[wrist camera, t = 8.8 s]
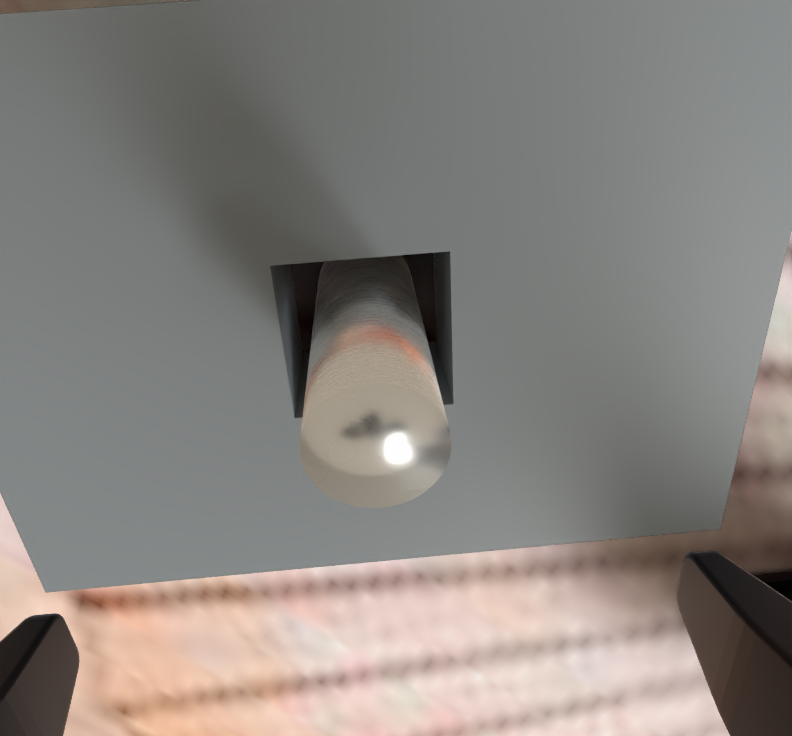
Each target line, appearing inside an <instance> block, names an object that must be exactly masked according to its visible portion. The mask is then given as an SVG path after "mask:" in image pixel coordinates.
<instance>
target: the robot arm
mask: <svg viewBox="0 0 792 736" xmlns="http://www.w3.org/2000/svg"><path fill="white" fill-rule="evenodd" d="M677 601H678V606H679V609H680V612H681V614H682V617H683V620H684V622H685V625H686V628H687V630H688V633H689V636H690V638H691V641H692V644H693V646H694V649H695V651H696V654H697V657H698V659H699V662H700V665H701V667H702V670H703V673H704V675H705V678H706V681H707V683H708V686H709V688H710V691H711V694H712V696H713V699H714V701H715V704H716V706H717V709H718V711H719V713H720V715H721V717H722V720H723V722H724V724H725V726H726V728H727V730H728V732H729V734H730V736H792V572H789V573H778V574H768V575H758V576H753V575H752V574H750V573H749V572H747V571H746V570H744V569H743V568H742V567H740V566H739V565H737V564H736V563H734V562H733V561H731V560H730V559H728V558H727V557H725V556H724V555H722V554H721V553H719V552H716V551H712V550H710V551H699V552H690V553H688V554H687V555H686V556H685V558H684V561H683V566H682V570H681V575H680V580H679V584H678V589H677ZM78 668H79V653H78V649H77V647H76V644H75V642H74V640H73V638H72V636H71V633H70V631H69V629H68V627H67V624H66V622H65V620H64V618H63V617H62V616H61V615H59V614H44V615H35V616H31V617H28V618H27V619H25V620H24V621H22V622H21V623H20V624H19V625H18V626H17V627H16V628H15V629H14V630H12V631H11V632H10V633H9V634H8V635H7V636H6V637H5V638H4V639H2V640H1V641H0V736H63V734H64V730H65V725H66V721H67V717H68V712H69V708H70V704H71V699H72V695H73V690H74V686H75V682H76V677H77V673H78Z"/></svg>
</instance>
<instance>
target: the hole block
mask: <svg viewBox="0 0 792 736" xmlns="http://www.w3.org/2000/svg"><path fill="white" fill-rule="evenodd" d="M791 231H792V0H197V1H182V2H168V3H153V4H139V5H124V6H109V7H95V8H80V9H65V10H51V11H36V12H21V13H7V14H0V493H1V495H2V498H3V500H4V502H5V504H6V506H7V509H8V511H9V513H10V515H11V517H12V520H13V522H14V524H15V526H16V528H17V531H18V533H19V535H20V537H21V539H22V542H23V544H24V546H25V548H26V550H27V553H28V555H29V557H30V559H31V561H32V564H33V566H34V568H35V570H36V572H37V575H38V577H39V579H40V581H41V583H42V586H43V588H44V590H45V592H57V591H68V590H78V589H89V588H100V587H110V586H121V585H132V584H142V583H153V582H163V581H174V580H185V579H195V578H206V577H217V576H227V575H238V574H249V573H259V572H270V571H281V570H291V569H302V568H313V567H323V566H334V565H345V564H355V563H366V562H377V561H387V560H398V559H408V558H419V557H430V556H440V555H451V554H462V553H472V552H483V551H494V550H504V549H515V548H526V547H536V546H547V545H558V544H568V543H579V542H590V541H600V540H611V539H621V538H632V537H643V536H653V535H664V534H675V533H685V532H696V531H707V530H717V529H720V528H721V523H722V519H723V515H724V511H725V507H726V502H727V498H728V494H729V490H730V486H731V482H732V477H733V473H734V469H735V465H736V461H737V456H738V452H739V448H740V444H741V440H742V436H743V431H744V427H745V423H746V419H747V415H748V410H749V406H750V402H751V398H752V394H753V390H754V385H755V381H756V377H757V373H758V369H759V364H760V360H761V356H762V352H763V348H764V344H765V339H766V335H767V331H768V327H769V323H770V318H771V314H772V310H773V306H774V302H775V297H776V293H777V289H778V285H779V281H780V277H781V272H782V268H783V264H784V260H785V256H786V251H787V247H788V243H789V239H790V235H791ZM423 253H433V256H434V286H435V315H436V342H433V343H428V345H429V349H430V353H431V357H432V361H433V365H434V369H435V373H436V377H437V381H438V385H439V389H440V393H441V397H442V401H443V405H444V409H445V413H446V417H447V421H448V425H449V429H450V434H451V442H452V444H451V454H450V458H449V461H448V464H447V466H446V468H445V470H444V472H443V474H442V475H441V476H440V478H439V479H438V480H437V481H436V482H435V484H434V485H433V486H432V487H430V488H429V489H428V490H427V491H425V492H424V493H423V494H421V495H419V496H418V497H416V498H414V499H412V500H410V501H408V502H405V503H402V504H399V505H395V506H391V507H384V508H361V507H355V506H351V505H347V504H344V503H342V502H339V501H337V500H335V499H333V498H331V497H329V496H328V495H326V494H325V493H323V492H322V491H321V490H320V489H318V488H317V487H316V486H315V485H314V484H313V482H312V481H311V480H310V479H309V477H308V475H307V474H306V472H305V470H304V468H303V465H302V462H301V458H300V450H299V446H300V435H301V426H302V418H303V409H304V400H305V392H306V383H307V374H308V365H309V357H310V353H303V348H302V341H301V335H300V328H299V321H298V314H297V307H296V301H295V294H294V287H293V280H292V273H291V266H290V264H298V263H311V262H323V261H336V260H348V259H361V258H373V257H386V256H398V255H411V254H423Z"/></svg>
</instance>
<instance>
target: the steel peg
mask: <svg viewBox="0 0 792 736" xmlns="http://www.w3.org/2000/svg"><path fill="white" fill-rule="evenodd" d="M451 444H452V442H451V434H450V429H449V425H448V421H447V417H446V413H445V409H444V405H443V401H442V397H441V393H440V389H439V385H438V381H437V377H436V373H435V369H434V365H433V361H432V357H431V353H430V349H429V345H428V341H427V337H426V333H425V329H424V325H423V321H422V317H421V312H420V308H419V304H418V300H417V296H416V292H415V288H414V284H413V280H412V276H411V272H410V269H409V266H408V264H407V262H406V261H405V259H404V258H403V256H402V255H398V256H386V257H373V258H361V259H348V260H336V261H324V263H323V265H322V267H321V270H320V273H319V278H318V287H317V296H316V304H315V313H314V322H313V331H312V339H311V348H310V357H309V365H308V374H307V383H306V392H305V400H304V409H303V418H302V426H301V435H300V446H299V450H300V458H301V462H302V465H303V468H304V470H305V472H306V474H307V475H308V477H309V479H310V480H311V481H312V482H313V484H314V485H315V486H316V487H317V488H318V489H320V490H321V491H322V492H323V493H325V494H326V495H328V496H329V497H331V498H333V499H335V500H337V501H339V502H342V503H344V504H347V505H351V506H355V507H361V508H384V507H391V506H395V505H399V504H402V503H405V502H408V501H410V500H412V499H414V498H416V497H418V496H419V495H421V494H423V493H424V492H425V491H427V490H428V489H429V488H430V487H432V486H433V485H434V484H435V482H436V481H437V480H438V479H439V478H440V476H441V475H442V474H443V472H444V470H445V468H446V466H447V464H448V461H449V458H450V454H451Z"/></svg>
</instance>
